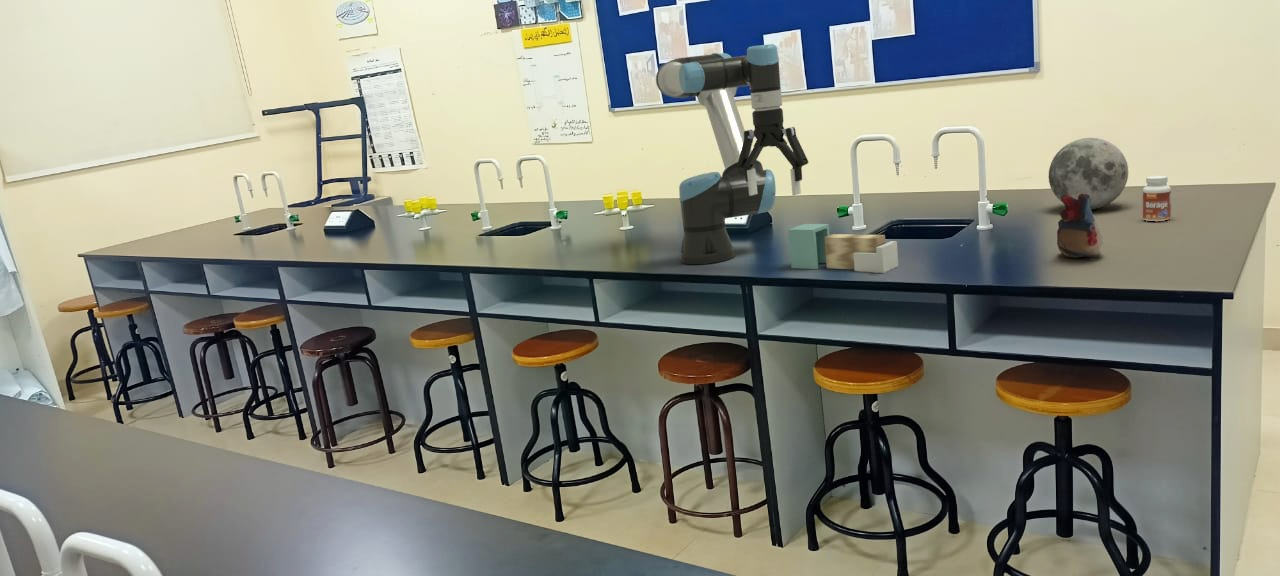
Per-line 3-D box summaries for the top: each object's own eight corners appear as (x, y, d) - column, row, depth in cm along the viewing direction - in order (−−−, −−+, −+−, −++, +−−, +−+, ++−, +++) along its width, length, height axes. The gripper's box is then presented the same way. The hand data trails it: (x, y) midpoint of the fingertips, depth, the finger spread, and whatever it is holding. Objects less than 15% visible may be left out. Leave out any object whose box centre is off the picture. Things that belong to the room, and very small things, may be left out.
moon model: (1070, 202, 272) (1068, 134, 268) (1141, 204, 256) (1140, 132, 252) (1036, 214, 260) (1033, 144, 256) (1108, 216, 244) (1107, 141, 240)
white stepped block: (854, 271, 218) (852, 246, 217) (869, 264, 223) (868, 240, 222) (883, 273, 213) (881, 247, 212) (898, 266, 218) (896, 241, 217)
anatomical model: (1105, 250, 208) (1104, 184, 204) (1100, 263, 197) (1099, 193, 194) (1060, 251, 212) (1058, 187, 209) (1053, 263, 202) (1051, 195, 199)
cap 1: (791, 268, 230) (787, 229, 228) (807, 261, 235) (803, 223, 233) (816, 269, 225) (813, 229, 223) (831, 262, 230) (828, 224, 228)
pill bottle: (1142, 223, 232) (1142, 179, 229) (1142, 218, 237) (1142, 175, 234) (1171, 222, 229) (1171, 177, 226) (1170, 217, 234) (1170, 174, 231)
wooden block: (826, 269, 225) (824, 237, 223) (835, 265, 228) (832, 234, 226) (879, 271, 216) (876, 238, 214) (887, 267, 218) (884, 234, 217)
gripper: (718, 113, 233) (726, 197, 238) (801, 107, 217) (808, 196, 222) (735, 110, 239) (743, 192, 243) (818, 103, 222) (824, 191, 227)
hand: (774, 194), depth 233 cm, fingers open, 12 cm apart
